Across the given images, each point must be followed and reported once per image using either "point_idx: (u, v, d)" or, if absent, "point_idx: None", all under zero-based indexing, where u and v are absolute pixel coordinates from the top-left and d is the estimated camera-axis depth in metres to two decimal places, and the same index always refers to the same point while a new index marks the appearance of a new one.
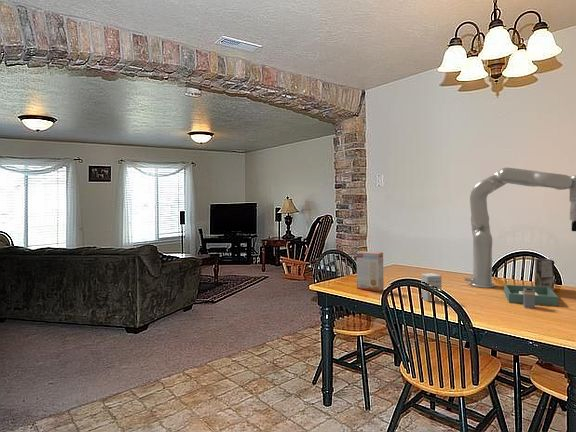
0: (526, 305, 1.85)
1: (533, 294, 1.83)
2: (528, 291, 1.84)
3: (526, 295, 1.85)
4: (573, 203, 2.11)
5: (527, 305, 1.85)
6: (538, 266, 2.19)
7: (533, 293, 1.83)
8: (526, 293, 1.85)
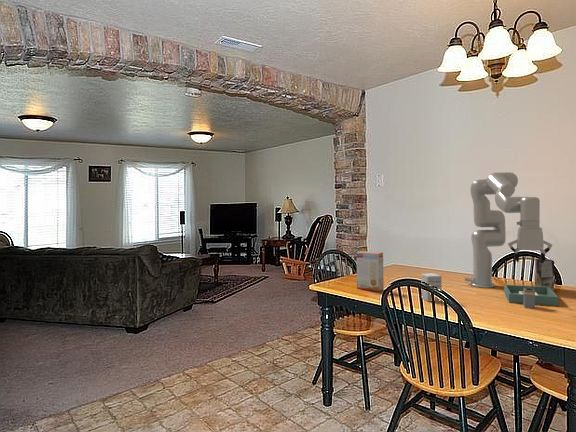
0: (526, 305, 1.85)
1: (533, 294, 1.83)
2: (528, 291, 1.84)
3: (526, 295, 1.85)
4: (536, 229, 1.82)
5: (527, 305, 1.85)
6: (538, 266, 2.19)
7: (533, 293, 1.83)
8: (526, 293, 1.85)
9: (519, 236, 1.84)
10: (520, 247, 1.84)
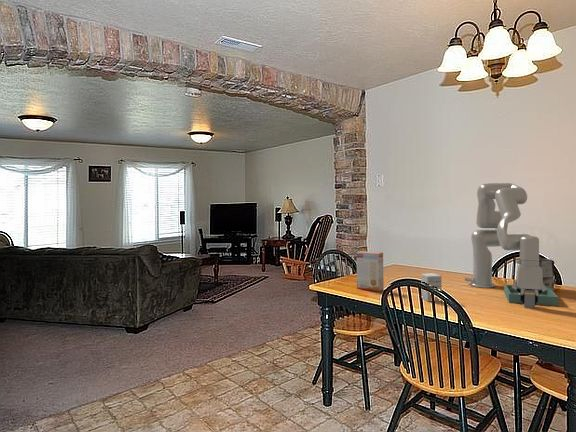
0: (526, 305, 1.85)
1: (533, 294, 1.83)
2: (528, 291, 1.84)
3: (526, 295, 1.85)
4: (535, 269, 1.82)
5: (527, 304, 1.85)
6: None
7: (533, 293, 1.83)
8: (526, 293, 1.85)
9: (518, 275, 1.85)
10: (519, 286, 1.85)
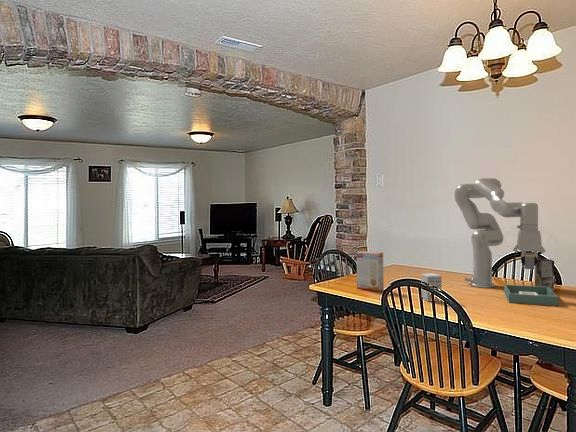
0: (526, 266, 2.01)
1: (533, 256, 1.99)
2: (528, 253, 2.00)
3: (526, 257, 2.00)
4: (535, 232, 1.98)
5: (527, 266, 2.00)
6: (538, 266, 2.19)
7: (533, 255, 1.99)
8: (526, 255, 2.00)
9: (519, 239, 2.01)
10: (520, 249, 2.01)
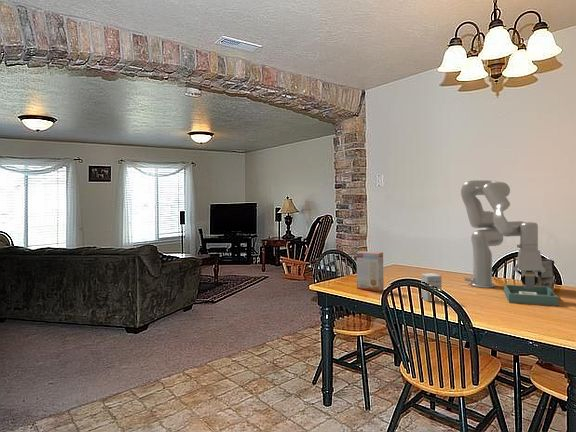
0: (527, 286, 2.01)
1: (533, 275, 1.99)
2: (528, 273, 2.00)
3: (526, 276, 2.01)
4: (535, 252, 1.98)
5: (528, 285, 2.00)
6: None
7: (533, 274, 1.99)
8: (526, 275, 2.01)
9: (519, 258, 2.01)
10: (520, 268, 2.01)
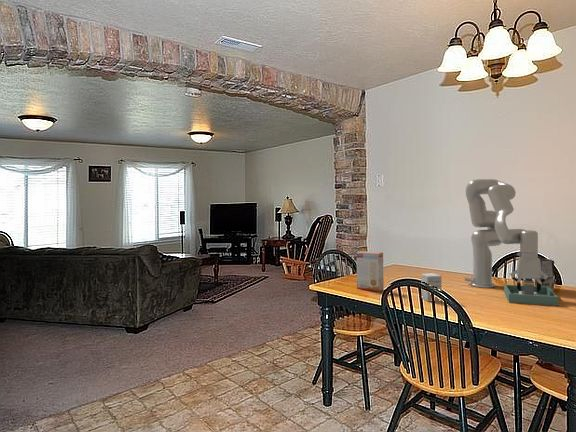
0: (526, 294, 2.01)
1: (532, 284, 2.00)
2: (528, 281, 2.01)
3: (526, 285, 2.01)
4: (534, 260, 1.99)
5: (527, 294, 2.01)
6: None
7: (532, 283, 2.00)
8: (526, 283, 2.01)
9: (519, 266, 2.02)
10: (520, 276, 2.01)
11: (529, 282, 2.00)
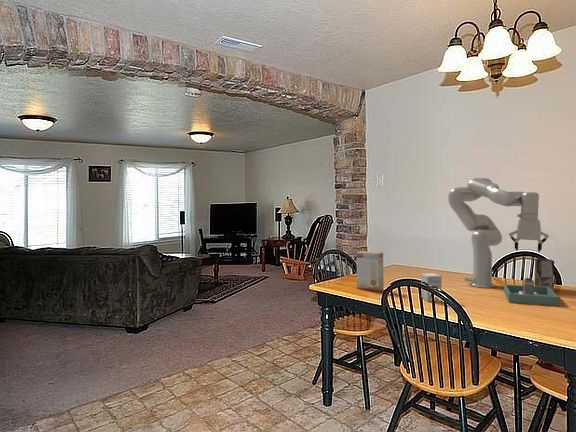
0: (526, 294, 2.01)
1: (532, 284, 2.00)
2: (528, 281, 2.01)
3: (526, 285, 2.01)
4: (534, 221, 2.02)
5: (527, 294, 2.01)
6: (538, 266, 2.19)
7: (532, 283, 2.00)
8: (526, 283, 2.01)
9: (519, 227, 2.05)
10: (519, 237, 2.05)
11: (529, 282, 2.00)
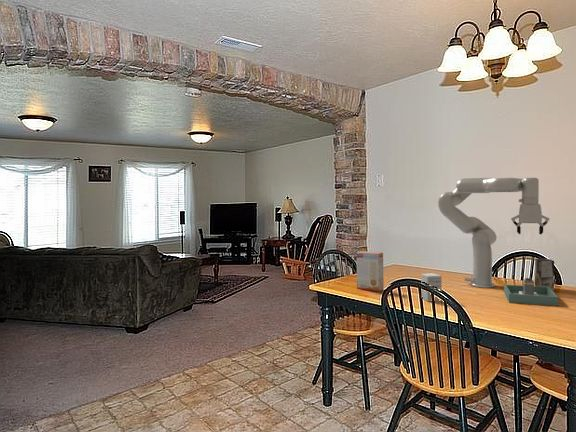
0: (526, 294, 2.01)
1: (532, 284, 2.00)
2: (528, 281, 2.01)
3: (526, 285, 2.01)
4: (535, 205, 2.10)
5: (527, 294, 2.01)
6: (538, 266, 2.19)
7: (532, 283, 2.00)
8: (526, 283, 2.01)
9: (521, 211, 2.13)
10: (521, 221, 2.13)
11: (529, 282, 2.00)
